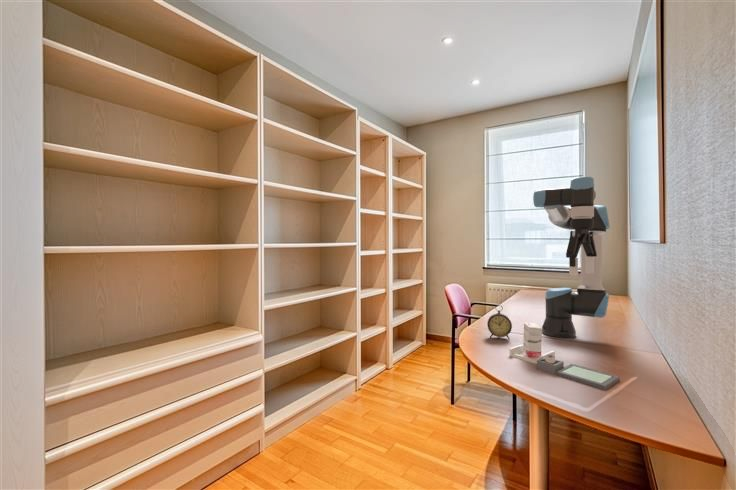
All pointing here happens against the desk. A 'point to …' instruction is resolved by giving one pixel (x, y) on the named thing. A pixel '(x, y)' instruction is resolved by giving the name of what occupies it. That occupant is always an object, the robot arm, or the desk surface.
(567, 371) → the pale green panel
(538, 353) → the ink box
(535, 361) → the trough
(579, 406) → the desk surface
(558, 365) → the cup
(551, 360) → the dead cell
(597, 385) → the base
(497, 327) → the alarm clock
